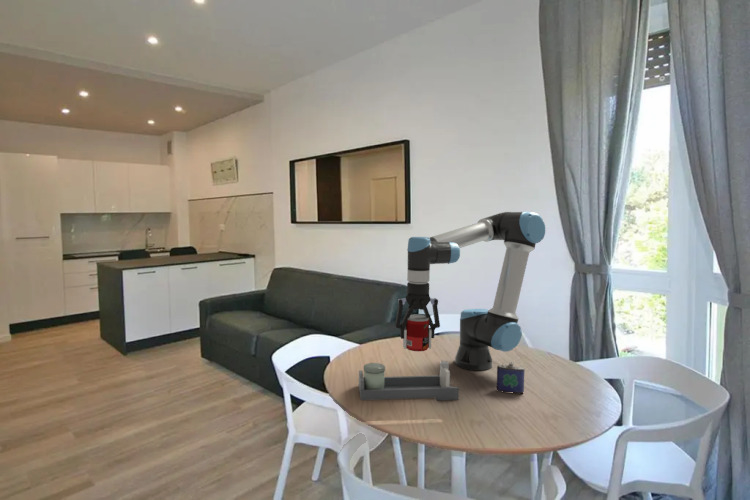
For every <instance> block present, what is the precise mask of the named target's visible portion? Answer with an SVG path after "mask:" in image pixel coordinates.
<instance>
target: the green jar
mask: <svg viewBox="0 0 750 500" xmlns="http://www.w3.org/2000/svg"><path fill="white" fill-rule="evenodd" d="M385 371H386V366H385V365H384V364H383V363H379V362H370V363H365V364H364V365H363V377H364V390H373V389H384V377H385V374H386V373H385Z"/></svg>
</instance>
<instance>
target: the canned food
mask: <svg viewBox="0 0 750 500" xmlns="http://www.w3.org/2000/svg"><path fill="white" fill-rule="evenodd" d="M405 328H406V330H407V339H406V349H407V350H408V351H411V352H425V351H427V350H428V349H429V348H428V346H429V328H430V325H429V318H427V317H426V316H425V314H416V313H414V314H411V315H410V318H408V322H407V324H406V326H405Z"/></svg>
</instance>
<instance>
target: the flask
mask: <svg viewBox="0 0 750 500" xmlns="http://www.w3.org/2000/svg"><path fill="white" fill-rule="evenodd" d="M525 369H526V368H524V367H521V366H514V362H513V361H511V362H509V363H508V364H507V365H506V364H503V363H502V364H498V365H497V368H496V391H497V390H498V391H497V392H499V391H503V392H502V393H504V392H513V393H523V392H524V393H525ZM524 393H523V394H524Z"/></svg>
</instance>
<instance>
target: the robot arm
mask: <svg viewBox="0 0 750 500" xmlns="http://www.w3.org/2000/svg"><path fill="white" fill-rule="evenodd" d="M545 235H546V224H545V222H544V220H543V218H542V216H541V215H540V214H538V213H536V212H531V211H503V212H499V213H496V214H493V215H490V216H486V217H484V218H481V219H479V220H478V221H477V223H472V224H469V225H467V226H462V227H459V228H457V229H454V230H449V231H447V232H443V233H439V234H436V235H434V236H431V237H429V236H428V237H427V236H411V237H409V238H408V239H407V249H406V250H407V278H406V279H407V281H408V282H407V283H406V285H407V286H406V296H405V297H403V298H399V297H398V299H397V304H398V305H397V312H396V318H395V323H394V325H395V328H396V329H399V334H400V335H399V337H400V339H401V340H402V348H403V349H404V350H406V349H407V348H406V339H407V330H406V324H407V322H408V318H410V315H412V313H413V312H414V310H422V311H423V312H424V315H425V316H426V317H427V318H429V346H428V349H432V339H435V330H436V329H437V328H440V327H441V322H440V315H439V310H438V304H439V299H437V298H436V297H433V298H432V297H431V296H430V283H429V282H430V271H431V265H438V264H439V265H441V264H444V265H445V264H447V265H449V264H454V263H457V262H458V261H459V259H460V257H461V249H462V248H465V247H467V246H471V245H474V244H477V243H479V242H486V243H489V242H491V241H503V245H504V246H505V248H506V250H505V253H504V258H503V261H502V267H501V271H500V275H499V280H498V283H497V288H496V292H495V297H494V300H493V305H492V308H489V309H487V308H469V309H464V310H461V312H460V316H459V317H460V319H459V346H458V349H457V352H456V354H455V357H454V363H455V365H456V366H458V367H459V368H461V369H465V370H470V371H486V370H489V369H491V368H493V358H492V355H491V352H490V348H492V349H494V350H496V351H501V352H504V353H506V352H510V351H513V350H514V349H515V348H516V347H517V346H518V345H519V343H520V341H521V339H522V336H523V332H522V328H521V325H519V317H518V315H517V313H516V312H517V308H518V303H519V300H520V295H521V291H522V286H523V281H524V277H525V274H526V273H525V272H526V269H527V265H528V260H529V256H530V252H532V251H534V250H535V248H536V244H539V243H541V242H542V240H543V239H544V237H545ZM406 303H407V304H408V307H407V310H406V312H405V315H404V317H403V318H402V315H403V314H402V313H403V309H404V305H405V304H406ZM429 303H430V304H431V305H432V314H433V319H434V321H433V319H432V317H431V315H430V311H429V309H428V308H427V306H428V304H429ZM401 320H402V321H401ZM433 322H434V323H433ZM489 347H490V348H489Z"/></svg>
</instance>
